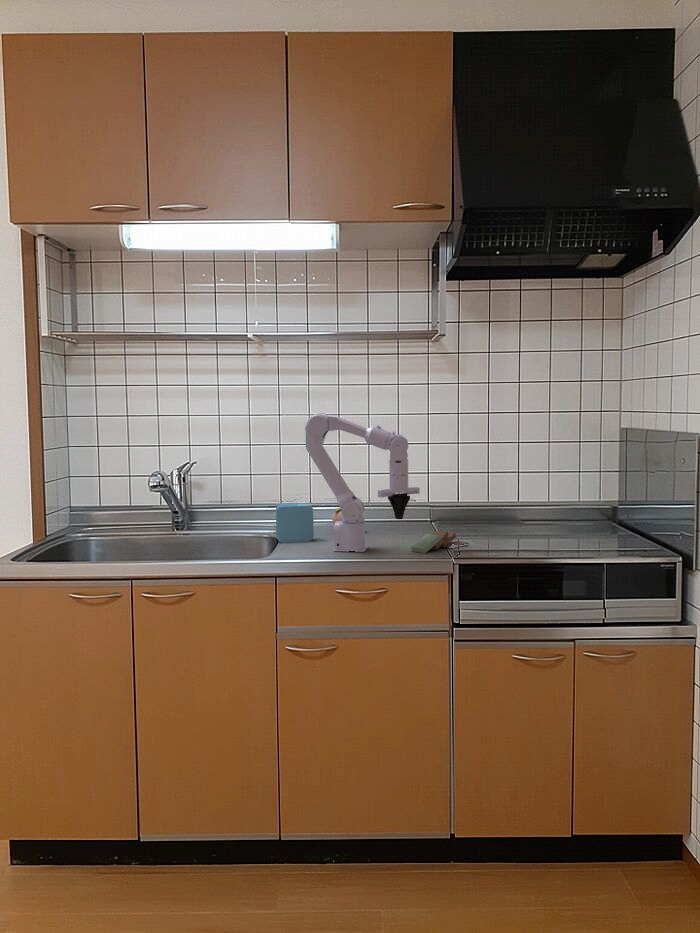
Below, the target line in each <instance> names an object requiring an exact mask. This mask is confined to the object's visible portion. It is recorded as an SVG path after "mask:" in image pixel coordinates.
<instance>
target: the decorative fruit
mask: <svg viewBox="0 0 700 933" xmlns="http://www.w3.org/2000/svg"><path fill="white" fill-rule="evenodd" d="M342 518H343V517H342V514H341V508H340V507H338V508H336V509H335V510H334V512H333V513H332V516H331V521H332V523H333V525H335V522H336V521H342Z"/></svg>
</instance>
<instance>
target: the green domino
mask: <svg viewBox="0 0 700 933" xmlns="http://www.w3.org/2000/svg"><path fill="white" fill-rule="evenodd" d="M431 534H432V533H431ZM431 534H430V533H429V534H428V533H426V534H425V535H423V536H422V537H421V538H420V539H419V540H418V541H416V542H415V543H413V545H411V546H410V549H411V551H412V552H413V551H414V553H419V554H423V555H424V554H426V553H427V552H428V551H430V550H432V549H431V548H432V547H433V546H434V545H435V544H437V543H438V542H439V541H440V537H439V536H437V535H431Z"/></svg>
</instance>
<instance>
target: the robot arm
mask: <svg viewBox="0 0 700 933" xmlns="http://www.w3.org/2000/svg"><path fill="white" fill-rule="evenodd" d="M304 429H305V448H306V451H307V452H308V454H309V456H310V457H311V459H312V461H313V463H314V464H315V466H316V467H317V469H318V470H319V472H320V474H321V475H322V477H323V479H324V480H325V482H326V483H327V485H328V486H329V488H330V490H331V491H332V493H333V494H334V496H335V498H336V501H337V504H338V506H339V508H341V514H342V517H343V518H342V521H336V522H335V525H334V524H333V525H334V526H333V551H334V552H349V551H355V552H356V553H364V552H365V551H366V550H367V549H368V548H369V546H368V545H366V523H365V522H366V521H365V520H366V519H365V518H364V517H363V516H362V515H363V514H364V512H365V504H364V501H363V500H361V499H360V498H358V497H357V496H356V495H355V494H354V492H353V491H352V490H351V489H350V488H349V486H348V484H347V482H346V481H345V479H344V478H343V476H342V475H341V473H340V471H339V469H338V468H337V467H336V465H335V463H334V461H333V460H332V458H331V457H330V455H329V453H328V452H327V450H326V449H325V448H324V443H325V439H326V435H328V433H329V432H333V431H343V432H345V433H349V434H352V435H355V436H358V437H361V438H364V440H365V443H366V444H367V445H370V446H373V447H376V448H379V449H381V450H384V451H387V450H388V451H389V453H390V454H389V462H388V463H389V488H387V489H382V490H377V497H378V498H381V499H382V498H387V499H388V501H389V503H390V506H391V507H392V510H393V514H394V517H395V520H403V519H404V515H405V511H406V507H407V506H408V504H409V501H410V500H411V496H410V495H415V494H416V495H419V494H421V493H420V492H421V491H420V489H421V488H420V487H418V486H413V487H412V486H410V487H409V460H408V458H409V454H408V448H409V442H408V439H407V438H406V437H405V436H404V435H402V434H396V432H395V431H392V432H391V431H389V430H386V429H383V428H382V426H380V425H376V426H375V425H372V426H370V427H368V428H367V427H366V426H362V425H360V424H358V423H356V422H354V421H351V420H348V419H346V418H343V417H340V416H336V415H332V414H327V413H326V412H319V413H314V414H312V415H310V416H309V418H308V420H307V422H306V425H305V427H304Z"/></svg>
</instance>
